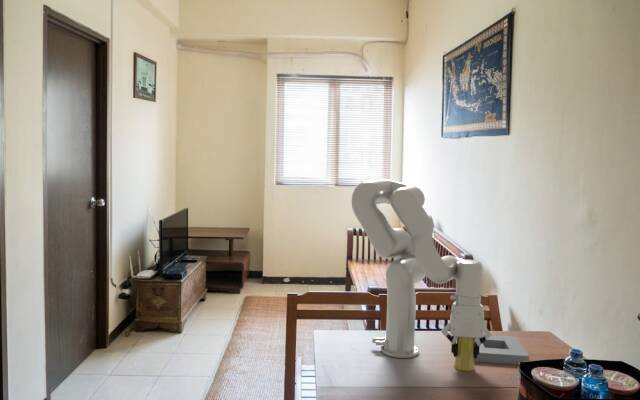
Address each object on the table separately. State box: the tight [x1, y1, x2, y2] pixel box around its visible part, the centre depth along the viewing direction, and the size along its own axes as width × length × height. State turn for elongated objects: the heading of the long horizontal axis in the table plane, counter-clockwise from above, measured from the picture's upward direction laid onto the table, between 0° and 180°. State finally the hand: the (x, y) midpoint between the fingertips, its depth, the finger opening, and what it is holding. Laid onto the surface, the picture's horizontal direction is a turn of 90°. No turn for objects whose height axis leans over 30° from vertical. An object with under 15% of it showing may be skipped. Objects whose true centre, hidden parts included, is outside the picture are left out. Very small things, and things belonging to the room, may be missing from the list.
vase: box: [454, 337, 475, 372], centre depth 173 cm, size 6×6×14 cm
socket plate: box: [474, 334, 530, 365], centre depth 187 cm, size 18×18×3 cm
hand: (464, 355), depth 173 cm, fingers closed on vase, 5 cm apart
